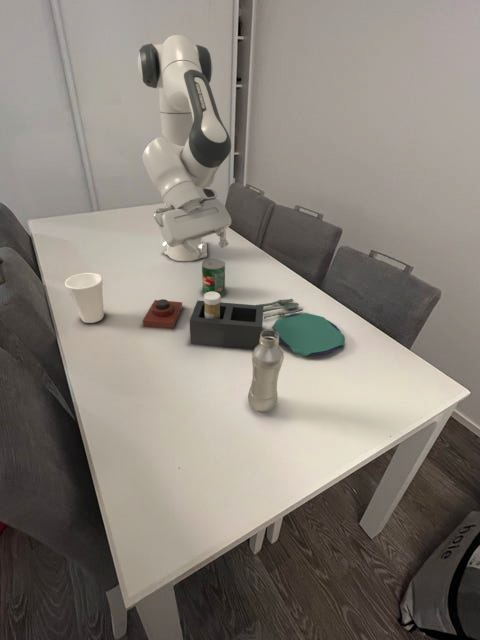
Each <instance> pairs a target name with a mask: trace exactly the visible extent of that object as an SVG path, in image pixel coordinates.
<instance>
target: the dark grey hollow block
mask: <svg viewBox="0 0 480 640" xmlns="http://www.w3.org/2000/svg"><path fill="white" fill-rule="evenodd" d="M264 308H265V306H259V304H246V303H245V304H244V303H235V302H221V301H220V319H211V318H205V303H204V300H199V299H198V300H196V303H195V306H194V308H193V310H192V313H191V316H190V319H189V337H190V339H189V340H190V345H194V346H195V345H196V346H208V347H217V348H230V349H239V350H243V349H244V350H252V351H253V350H254V348H255V347H256V346H257V345H258V344H259V343H260V342H259V340H260V334H261V332H262V331H263V326H264V325H263V324H264V312H263V310H264Z"/></svg>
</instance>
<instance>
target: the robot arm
mask: <svg viewBox="0 0 480 640" xmlns="http://www.w3.org/2000/svg"><path fill="white" fill-rule="evenodd" d="M138 51H139V52H138V55H137V70H138V74H139V75H140V79H142V82H143V84H144V85H145V86H146V87H148V88H152V89H157V88H159V91H158V100H159V101H158V103H159V104H158V105H159V116H160V125H161V134H162V136H158V137H155V138H153V139H151V140H150V141H149V143H147V145H146V146H145V147H144V149H143V152H142V155H141V160H142V163H143V166H144V168H145V171H146V172H147V175H148V177H149V179H150V181H151V183H152V184H153V186H154V187H155V188H156V189H157V190H158V191H159V193H160V195H161V199H162V202H163V203H164V205H165V206H164V207H159V208H157V209H156V210H155V211H154V213H153V218H154V221H155V223H156V224H157V225H158V228H159V230H160V233H161V235H162V237H163V239H164V240H163V241H164V242H163V243H162V246H166V249H165V250H164V251H163V255H165V256H168V258H170V260H174V261H177V262H192V261H198V260H200V259H204V258H207V257H208V245H207V242H206V241H204V240H203V241H202V238H204V237H208V236H210V235H213V234H216V236H217V237H219V242H218V245H219V247H220V248H221V249H224V248H227V247H228V246H229V244H230V243H229V241H228V239H227V232H226V229H228V228H229V227H230V226H231V225H232V217H231V215H230V213H229V212H228V210H227V208H226V207H225V205H224V204H223V202H222V201H221V200H220V199H218V193H217V192H216V190H215V189H213V188H209V187H211V186H212V184H213V182H214V180H215V175H216V173H217V171H218V170H219V168H220V167H221V165H222V164H223V163H224V161H225V160H226V159H227V158H228V157H229V155H230V154H231V151H232V141H231V140H232V139H231V137H230V135H229V132H228V130H227V129H226V127H225V125H224V123H223V121H222V119H221V117H220V114H219V111H218V107H217V104H216V100H215V98H214V94H213V91H212V88H211V85H210V83H211V80H212V76H213V69H214V68H213V65H214V64H213V60H212V56H211V53H210V51H209V49H208V48H207V47H205V46H203V45H199V44H196V45H194V44H193V43H192V42H191V40H190V39H189V38H188V37H186V36H184V35H182V34H173V35H170V36H168V37H167V38H165V40H164V42H163V43H157V44H156V43H155V44H153V43H146V44H143V45H142V46H141V47H140V48H139V50H138Z"/></svg>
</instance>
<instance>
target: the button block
mask: <svg viewBox="0 0 480 640" xmlns="http://www.w3.org/2000/svg"><path fill="white" fill-rule="evenodd" d="M158 300H159V299H154V301H153V302H152V304H151V305H150V307H149V309H148V311H147V313H146V314H145V316H144V318H143V319H142V325H143V327H145V328H157V329H167V330H168V329H169V330H173V329H174V328H175V326H176V324H177V321H178V319H179V316H180V314H181V312H182V310H183V302H182V301H174V300H173V301H172V300H167V301H168V304H169V308H167V309H164V310H159V309H157V305H156V302H157V301H158Z"/></svg>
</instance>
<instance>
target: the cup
mask: <svg viewBox="0 0 480 640" xmlns="http://www.w3.org/2000/svg"><path fill="white" fill-rule="evenodd" d="M103 281H104V280H103V277H102V276H101V275H100V274H98V273H95V272H82V273H77V274H74V275H71V276H69V277H68V278H67V279H66V280H65V281H64V286H65V289H66V291H67V292H68V294H69V296H70V298H71V300H72V302H73V304H74V306H75V308H76V311H77V312H78V315H79V317H80V319H81V321H82V322H83V323H87V324H95V323H97V322H99V321H102V319H103V318H104V294H103V293H104V292H103V291H104V290H103V285H104V283H103Z"/></svg>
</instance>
